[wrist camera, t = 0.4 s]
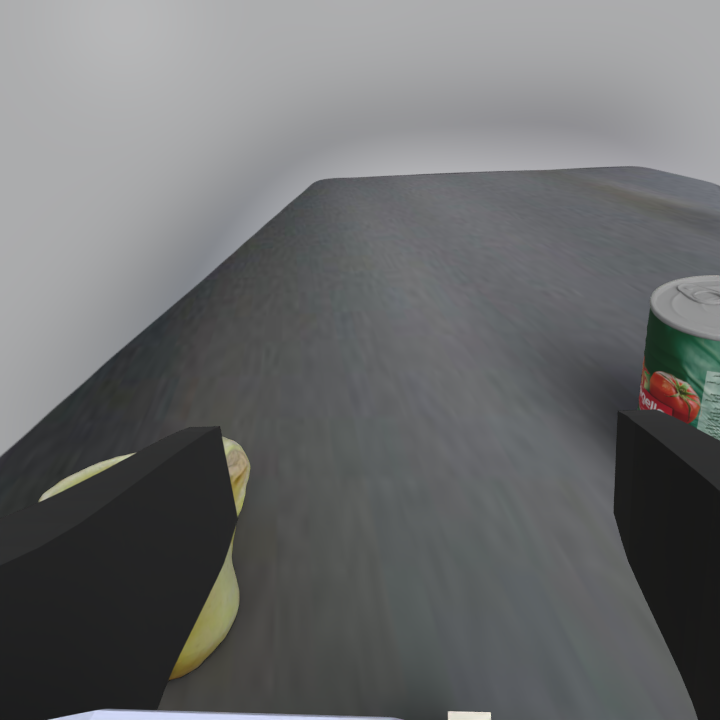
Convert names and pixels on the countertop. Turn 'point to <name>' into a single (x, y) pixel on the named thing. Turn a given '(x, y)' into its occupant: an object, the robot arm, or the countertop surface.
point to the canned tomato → (684, 353)
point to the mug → (225, 590)
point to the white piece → (469, 715)
